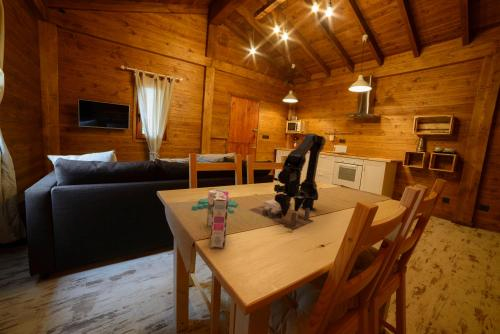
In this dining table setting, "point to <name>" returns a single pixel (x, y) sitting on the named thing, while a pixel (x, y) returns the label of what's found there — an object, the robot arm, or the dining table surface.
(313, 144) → the robot arm
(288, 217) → the support block
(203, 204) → the alien figure
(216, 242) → the candy bar box
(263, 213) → the roller bed
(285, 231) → the dining table surface
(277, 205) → the slab
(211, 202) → the syrup box
